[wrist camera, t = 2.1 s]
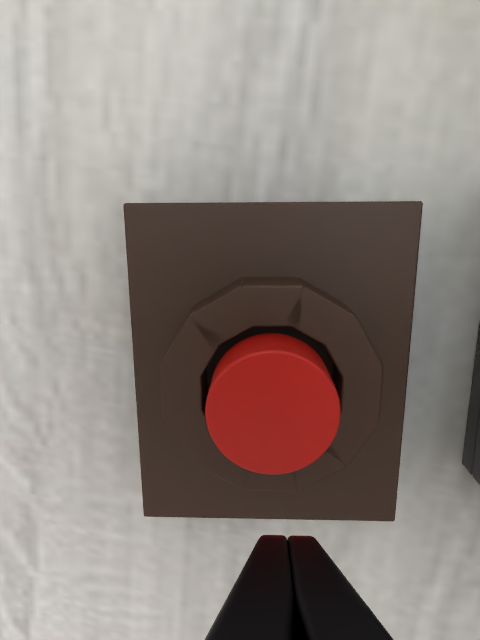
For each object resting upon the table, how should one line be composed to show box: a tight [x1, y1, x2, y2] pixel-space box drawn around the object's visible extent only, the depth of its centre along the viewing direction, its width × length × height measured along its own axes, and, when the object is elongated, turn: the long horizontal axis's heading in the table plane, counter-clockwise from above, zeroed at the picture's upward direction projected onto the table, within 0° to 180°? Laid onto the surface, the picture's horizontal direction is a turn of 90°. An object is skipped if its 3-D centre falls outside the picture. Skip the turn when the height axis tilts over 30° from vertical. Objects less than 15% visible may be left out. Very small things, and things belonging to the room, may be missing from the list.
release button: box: [205, 333, 341, 475], centre depth 13 cm, size 4×4×2 cm
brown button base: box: [124, 201, 423, 521], centre depth 15 cm, size 11×9×4 cm
